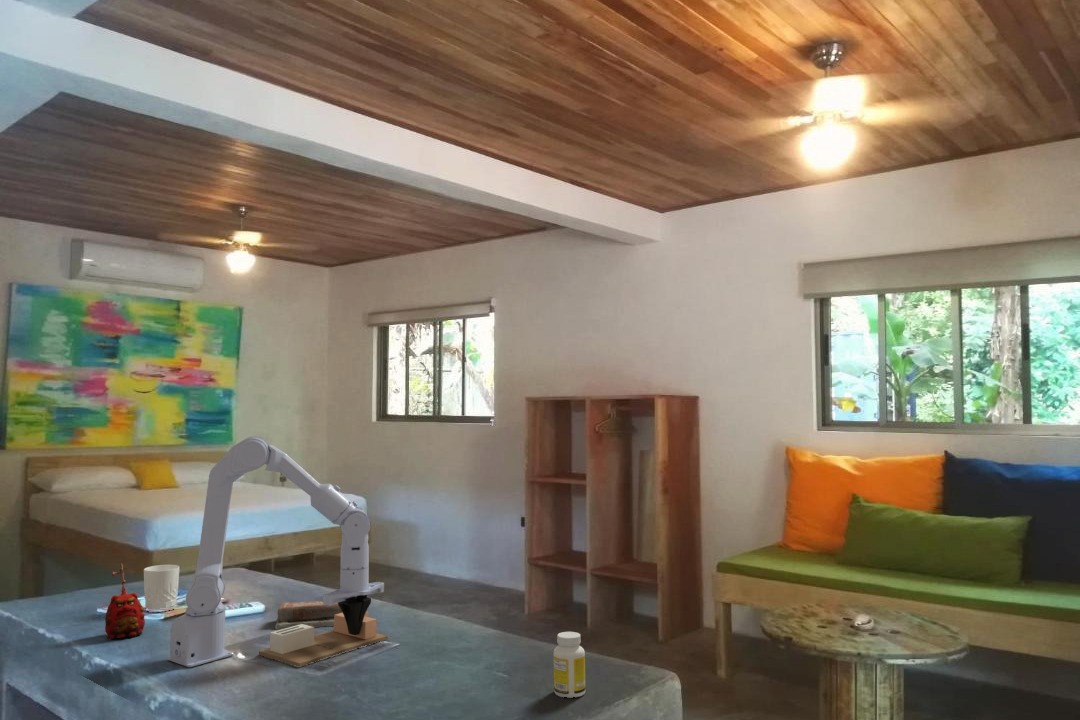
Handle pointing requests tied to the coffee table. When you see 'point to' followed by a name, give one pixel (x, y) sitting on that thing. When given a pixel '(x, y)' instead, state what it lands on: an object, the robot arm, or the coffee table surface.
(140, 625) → the red clay folk toy
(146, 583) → the white cup
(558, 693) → the supplement bottle
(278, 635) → the white toaster
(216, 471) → the robot arm
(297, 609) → the packaged product
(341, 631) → the block
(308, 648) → the board
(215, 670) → the coffee table surface
